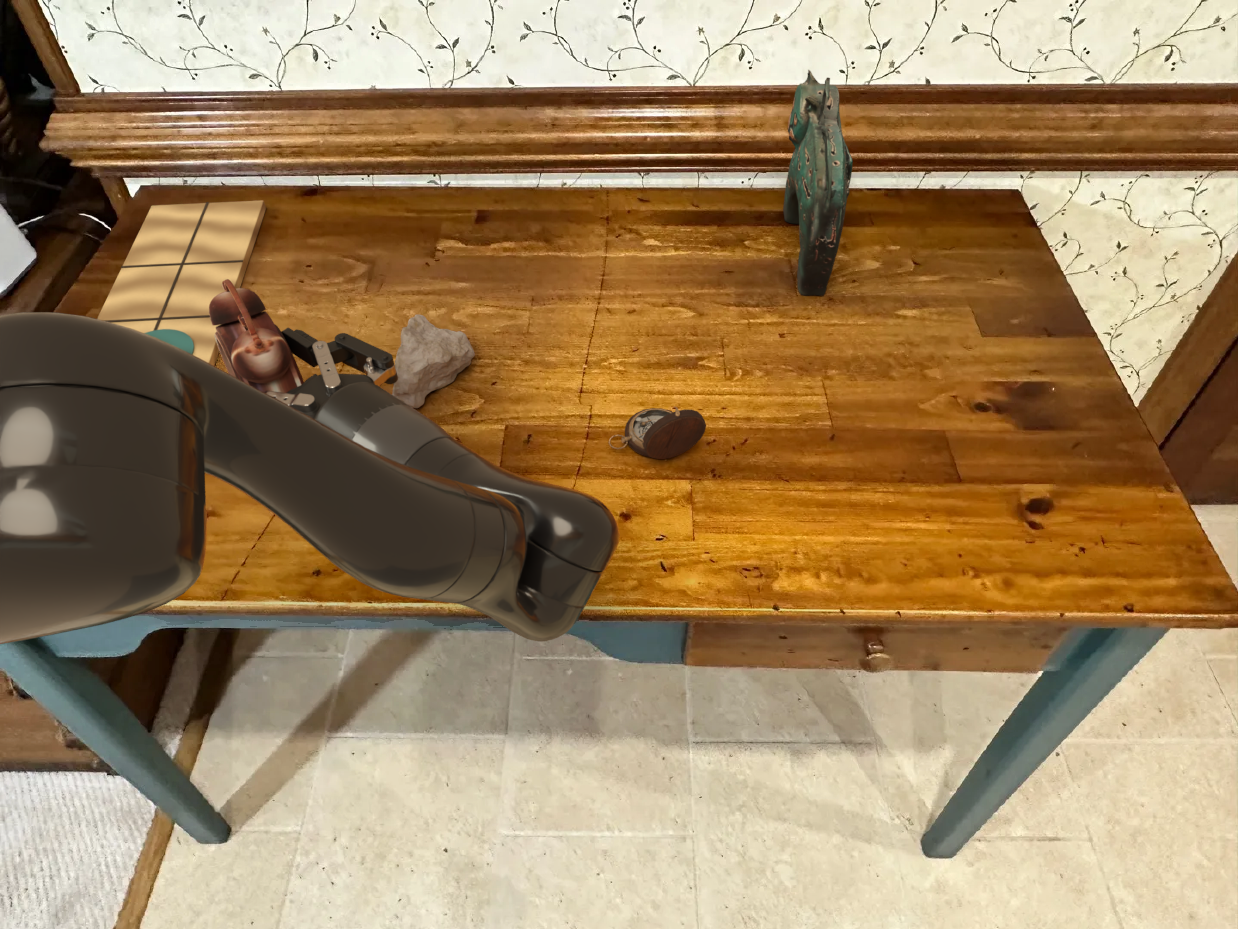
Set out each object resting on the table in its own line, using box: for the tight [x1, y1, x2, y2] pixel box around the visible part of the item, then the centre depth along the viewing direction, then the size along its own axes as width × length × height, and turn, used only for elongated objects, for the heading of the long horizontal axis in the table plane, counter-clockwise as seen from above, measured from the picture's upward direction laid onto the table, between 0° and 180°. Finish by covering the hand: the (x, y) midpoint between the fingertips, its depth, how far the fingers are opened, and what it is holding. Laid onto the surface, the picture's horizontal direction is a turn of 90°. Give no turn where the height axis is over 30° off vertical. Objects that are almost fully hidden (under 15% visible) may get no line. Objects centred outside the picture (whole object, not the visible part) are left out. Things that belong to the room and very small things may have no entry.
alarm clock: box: [209, 279, 305, 393], centre depth 74 cm, size 11×5×15 cm, turn 33°
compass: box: [608, 406, 707, 460], centre depth 83 cm, size 8×8×7 cm
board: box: [96, 200, 267, 366], centre depth 101 cm, size 34×14×1 cm, turn 4°
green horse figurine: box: [782, 69, 854, 296], centre depth 99 cm, size 20×6×20 cm, turn 178°
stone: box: [391, 314, 476, 409], centre depth 90 cm, size 10×8×6 cm
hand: (253, 358), depth 73 cm, fingers closed on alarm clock, 6 cm apart
